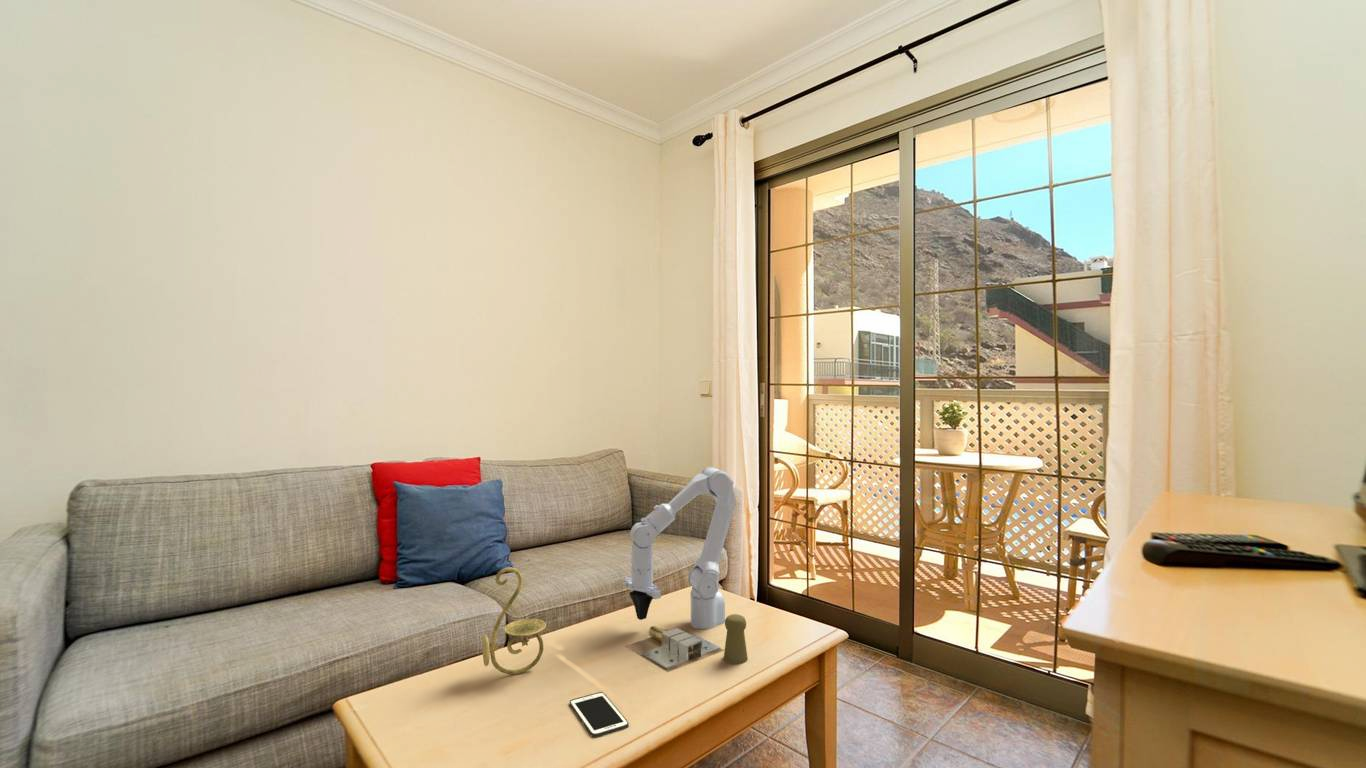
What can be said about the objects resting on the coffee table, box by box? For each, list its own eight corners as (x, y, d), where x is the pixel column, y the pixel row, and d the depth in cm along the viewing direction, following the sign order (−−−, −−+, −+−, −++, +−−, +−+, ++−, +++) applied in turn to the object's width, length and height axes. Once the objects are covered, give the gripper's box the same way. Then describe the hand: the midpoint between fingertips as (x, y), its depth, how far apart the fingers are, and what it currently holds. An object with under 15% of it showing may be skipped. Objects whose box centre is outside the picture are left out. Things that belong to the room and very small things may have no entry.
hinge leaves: (694, 636, 155) (694, 622, 155) (720, 649, 147) (720, 634, 147) (642, 654, 144) (642, 639, 144) (666, 669, 137) (666, 653, 137)
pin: (648, 638, 154) (648, 627, 154) (657, 635, 156) (657, 624, 156) (672, 650, 146) (672, 639, 146) (680, 647, 148) (680, 636, 148)
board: (679, 630, 161) (679, 627, 161) (724, 653, 147) (724, 650, 147) (624, 649, 149) (624, 645, 149) (667, 675, 135) (667, 671, 135)
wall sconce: (487, 690, 129) (487, 576, 129) (481, 672, 137) (481, 565, 138) (550, 676, 135) (550, 567, 135) (540, 659, 144) (540, 557, 144)
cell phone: (602, 695, 127) (602, 690, 127) (630, 729, 115) (630, 724, 115) (568, 704, 124) (568, 700, 124) (592, 740, 111) (592, 735, 111)
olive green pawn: (719, 664, 141) (719, 618, 141) (729, 654, 146) (729, 609, 147) (742, 669, 138) (742, 622, 138) (751, 659, 144) (751, 614, 144)
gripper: (615, 564, 162) (614, 613, 162) (645, 577, 151) (645, 630, 151) (636, 560, 167) (635, 608, 167) (667, 572, 156) (667, 623, 155)
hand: (641, 618), depth 159 cm, fingers closed
